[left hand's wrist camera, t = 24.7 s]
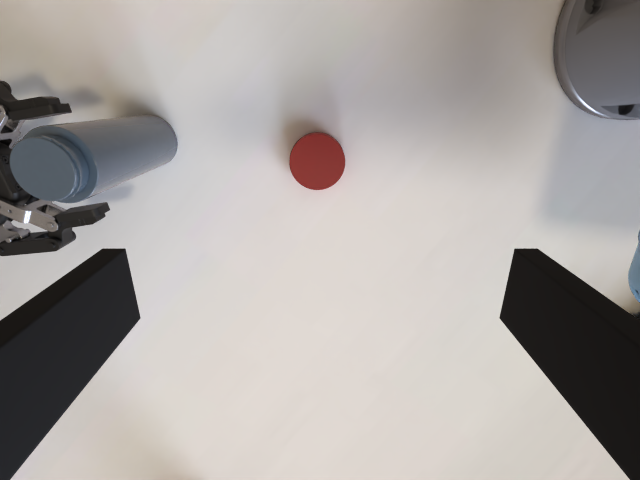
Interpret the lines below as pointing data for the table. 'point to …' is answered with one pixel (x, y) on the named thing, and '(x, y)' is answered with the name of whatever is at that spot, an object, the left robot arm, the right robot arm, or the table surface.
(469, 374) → the table surface
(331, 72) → the table surface
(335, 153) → the lid
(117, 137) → the jar
